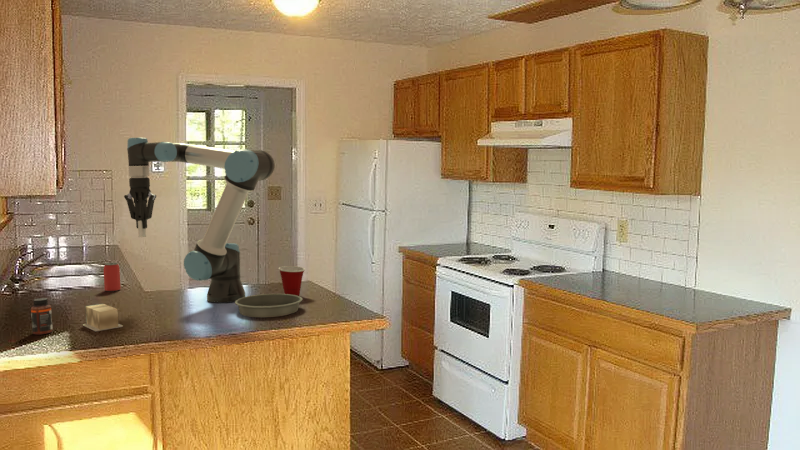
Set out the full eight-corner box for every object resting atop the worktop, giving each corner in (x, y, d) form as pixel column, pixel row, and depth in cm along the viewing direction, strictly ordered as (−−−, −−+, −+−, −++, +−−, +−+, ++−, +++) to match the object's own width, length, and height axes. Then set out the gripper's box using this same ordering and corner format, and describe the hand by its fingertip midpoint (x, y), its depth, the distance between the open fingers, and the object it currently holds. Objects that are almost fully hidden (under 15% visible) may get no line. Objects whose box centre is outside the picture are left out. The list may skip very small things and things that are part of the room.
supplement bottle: (57, 331, 224) (54, 297, 222) (42, 335, 218) (40, 301, 217) (43, 330, 225) (41, 296, 224) (28, 334, 220) (25, 300, 219)
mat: (82, 325, 231) (82, 324, 231) (109, 321, 237) (109, 319, 237) (95, 331, 222) (95, 330, 222) (122, 326, 229) (122, 325, 229)
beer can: (101, 291, 295) (99, 264, 294) (112, 288, 301) (111, 262, 300) (112, 292, 292) (111, 264, 291) (124, 289, 299) (122, 262, 297)
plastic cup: (298, 299, 270) (297, 270, 269) (274, 298, 273) (273, 269, 272) (310, 294, 280) (309, 266, 279) (287, 293, 284) (286, 265, 282)
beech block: (85, 306, 232) (99, 311, 223) (103, 303, 236) (117, 308, 227) (86, 323, 233) (100, 329, 223) (104, 320, 237) (118, 326, 227)
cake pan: (307, 315, 242) (307, 303, 242) (237, 321, 235) (236, 308, 234) (297, 302, 265) (297, 291, 265) (233, 307, 258) (233, 295, 258)
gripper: (159, 176, 267) (162, 235, 269) (130, 177, 270) (133, 235, 272) (148, 177, 260) (151, 238, 262) (118, 177, 262) (121, 237, 264)
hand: (142, 236), depth 267 cm, fingers closed
